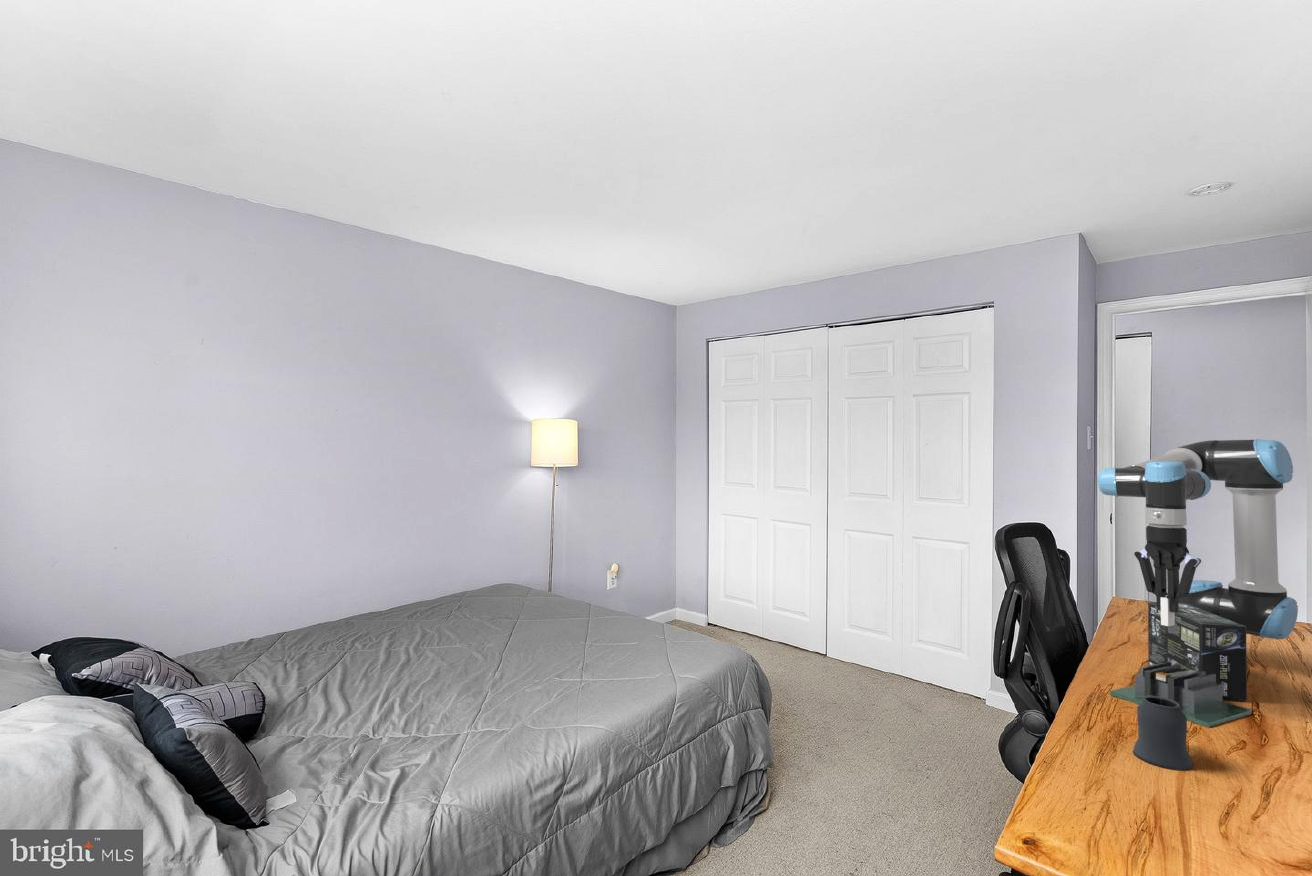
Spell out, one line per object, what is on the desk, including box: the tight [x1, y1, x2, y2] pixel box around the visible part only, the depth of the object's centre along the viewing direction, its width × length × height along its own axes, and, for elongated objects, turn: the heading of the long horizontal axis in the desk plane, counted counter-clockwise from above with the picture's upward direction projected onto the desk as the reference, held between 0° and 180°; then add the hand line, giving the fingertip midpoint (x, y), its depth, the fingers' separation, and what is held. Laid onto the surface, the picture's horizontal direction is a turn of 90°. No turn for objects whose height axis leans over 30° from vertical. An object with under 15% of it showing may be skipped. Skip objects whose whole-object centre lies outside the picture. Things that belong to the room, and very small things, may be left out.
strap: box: [1156, 669, 1198, 682], centre depth 148 cm, size 16×3×2 cm, turn 114°
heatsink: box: [1109, 662, 1252, 728], centre depth 148 cm, size 18×20×8 cm
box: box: [1147, 601, 1248, 703], centre depth 162 cm, size 23×10×19 cm, turn 168°
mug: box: [1132, 696, 1194, 772], centre depth 122 cm, size 12×9×11 cm
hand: (1167, 624), depth 147 cm, fingers closed
